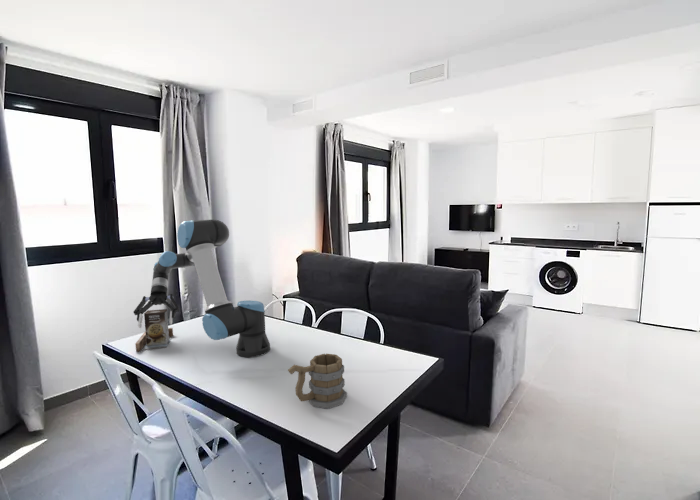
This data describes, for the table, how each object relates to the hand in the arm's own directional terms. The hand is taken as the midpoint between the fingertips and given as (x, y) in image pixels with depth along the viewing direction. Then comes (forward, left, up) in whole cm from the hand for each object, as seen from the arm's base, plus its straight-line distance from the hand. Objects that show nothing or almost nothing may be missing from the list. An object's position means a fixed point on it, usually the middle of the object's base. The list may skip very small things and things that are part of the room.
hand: (155, 325), depth 178 cm
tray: (+3, +1, -10) cm, 10 cm away
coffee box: (+1, 0, -10) cm, 10 cm away
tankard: (-75, -65, -10) cm, 100 cm away
